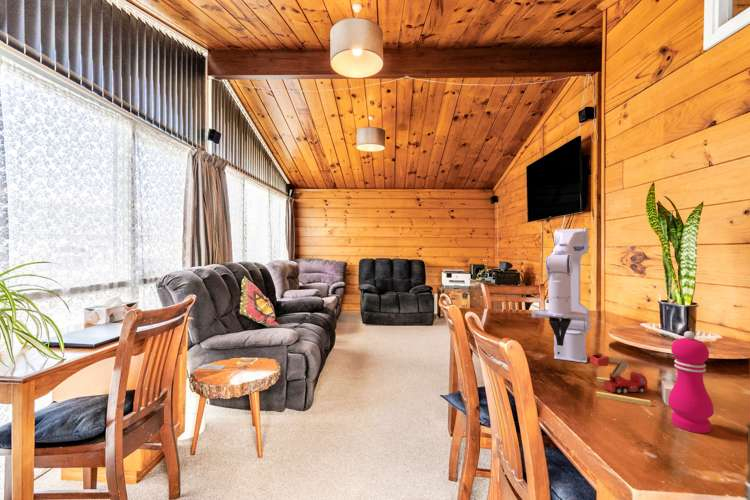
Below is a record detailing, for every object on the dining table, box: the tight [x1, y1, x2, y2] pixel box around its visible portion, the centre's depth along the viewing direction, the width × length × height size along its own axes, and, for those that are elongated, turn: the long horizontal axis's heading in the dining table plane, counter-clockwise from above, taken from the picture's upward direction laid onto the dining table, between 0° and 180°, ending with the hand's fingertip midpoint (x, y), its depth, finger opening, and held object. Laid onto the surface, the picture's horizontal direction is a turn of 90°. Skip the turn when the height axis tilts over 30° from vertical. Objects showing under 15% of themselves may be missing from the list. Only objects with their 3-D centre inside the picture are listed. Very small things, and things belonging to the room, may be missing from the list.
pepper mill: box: [668, 330, 715, 434], centre depth 76 cm, size 7×7×20 cm
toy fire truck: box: [589, 353, 649, 394], centre depth 95 cm, size 3×14×10 cm, turn 92°
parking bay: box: [595, 376, 675, 407], centre depth 93 cm, size 16×13×4 cm
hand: (560, 344), depth 102 cm, fingers closed
